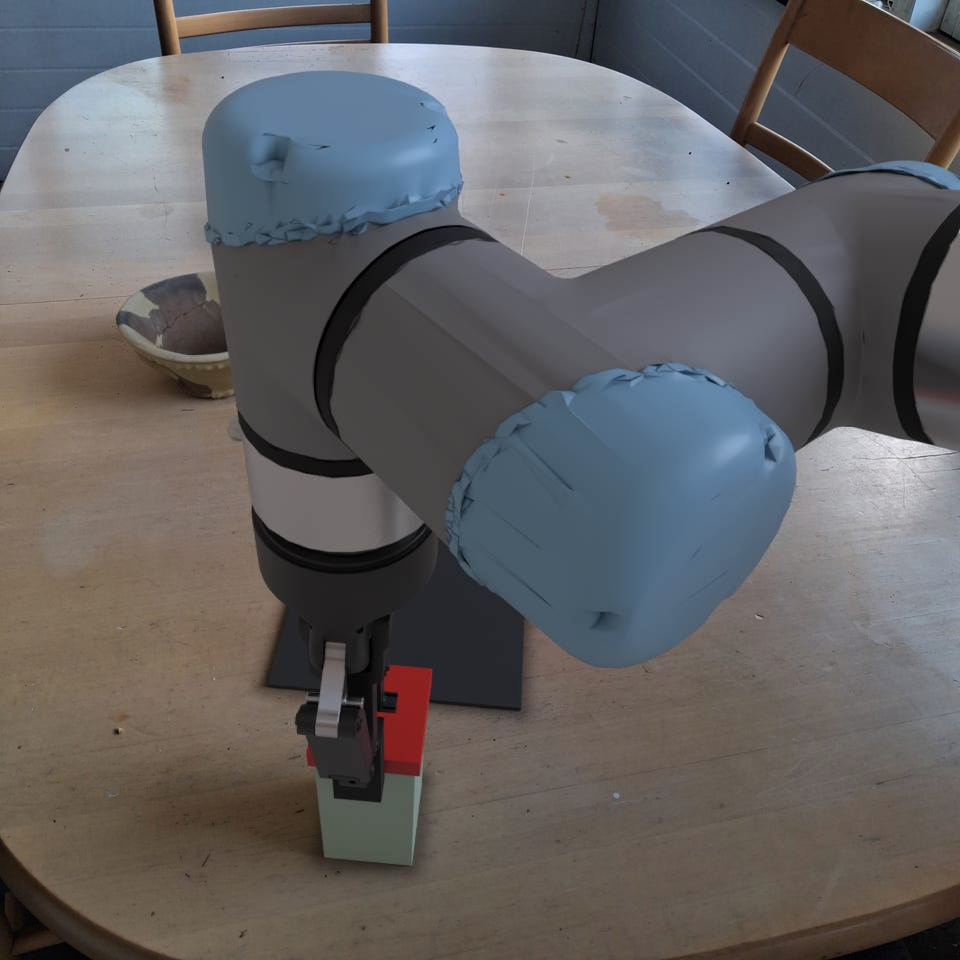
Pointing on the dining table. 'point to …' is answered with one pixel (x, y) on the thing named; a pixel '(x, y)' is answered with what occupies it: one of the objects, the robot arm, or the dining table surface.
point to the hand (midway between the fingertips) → (359, 788)
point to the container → (393, 821)
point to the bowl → (181, 332)
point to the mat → (438, 642)
